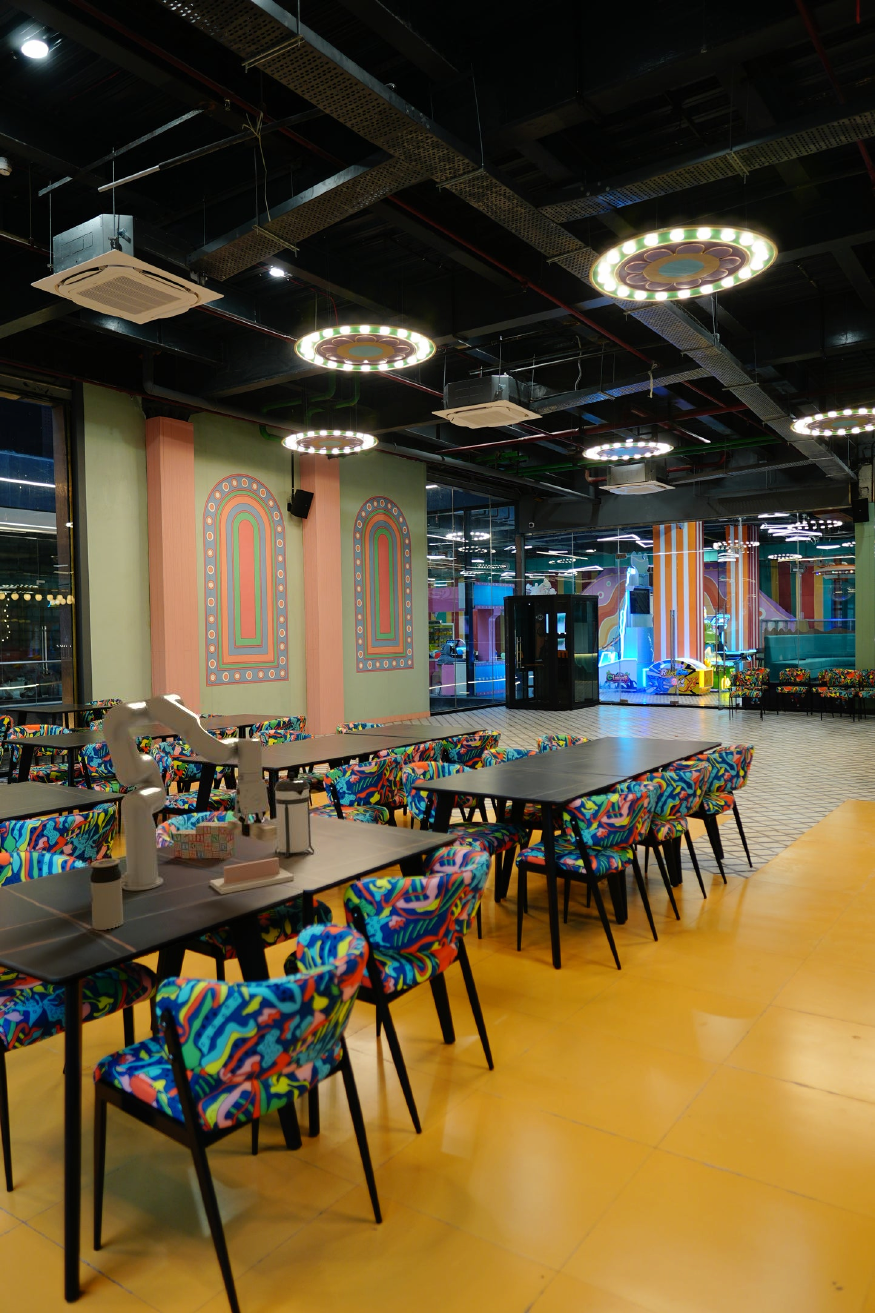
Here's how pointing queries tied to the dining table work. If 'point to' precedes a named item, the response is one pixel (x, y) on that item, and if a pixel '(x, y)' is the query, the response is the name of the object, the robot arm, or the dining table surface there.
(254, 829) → the oak bar
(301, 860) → the dining table surface
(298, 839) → the coffee press
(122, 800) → the robot arm
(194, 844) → the stack of blocks
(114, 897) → the travel mug
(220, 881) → the stand
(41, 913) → the dining table surface
